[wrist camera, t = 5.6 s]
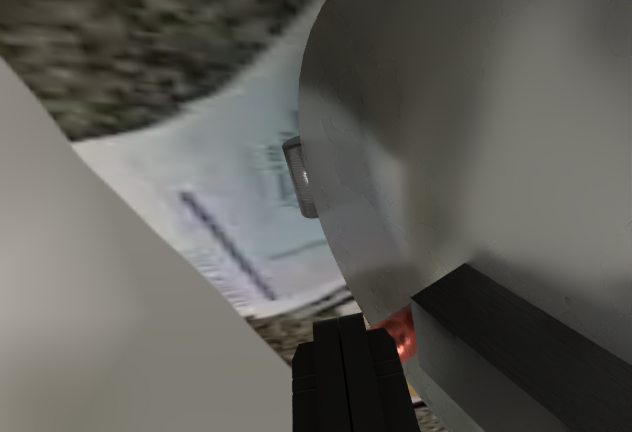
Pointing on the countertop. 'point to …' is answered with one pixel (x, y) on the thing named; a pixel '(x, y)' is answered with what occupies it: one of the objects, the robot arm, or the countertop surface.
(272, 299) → the countertop surface
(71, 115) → the countertop surface
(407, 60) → the cooker lid
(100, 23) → the countertop surface
